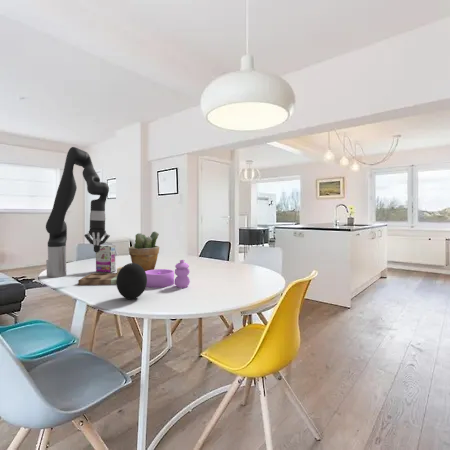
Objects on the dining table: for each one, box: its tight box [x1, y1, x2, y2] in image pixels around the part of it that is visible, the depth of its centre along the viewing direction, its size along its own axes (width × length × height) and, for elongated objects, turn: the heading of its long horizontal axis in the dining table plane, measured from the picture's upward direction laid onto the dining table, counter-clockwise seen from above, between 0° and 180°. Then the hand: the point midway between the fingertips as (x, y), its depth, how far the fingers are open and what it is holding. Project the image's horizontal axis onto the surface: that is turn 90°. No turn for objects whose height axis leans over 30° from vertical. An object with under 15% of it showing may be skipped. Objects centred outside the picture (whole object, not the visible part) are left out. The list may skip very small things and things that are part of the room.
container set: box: [145, 259, 191, 289], centre depth 153 cm, size 25×15×13 cm, turn 68°
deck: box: [77, 272, 117, 286], centre depth 162 cm, size 24×18×5 cm
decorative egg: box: [115, 262, 147, 300], centre depth 128 cm, size 12×12×15 cm
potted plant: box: [128, 231, 160, 271], centre depth 187 cm, size 18×19×25 cm
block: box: [116, 266, 123, 275], centre depth 163 cm, size 5×5×4 cm
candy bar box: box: [95, 244, 117, 273], centre depth 188 cm, size 11×5×16 cm, turn 73°
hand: (96, 252), depth 160 cm, fingers closed
